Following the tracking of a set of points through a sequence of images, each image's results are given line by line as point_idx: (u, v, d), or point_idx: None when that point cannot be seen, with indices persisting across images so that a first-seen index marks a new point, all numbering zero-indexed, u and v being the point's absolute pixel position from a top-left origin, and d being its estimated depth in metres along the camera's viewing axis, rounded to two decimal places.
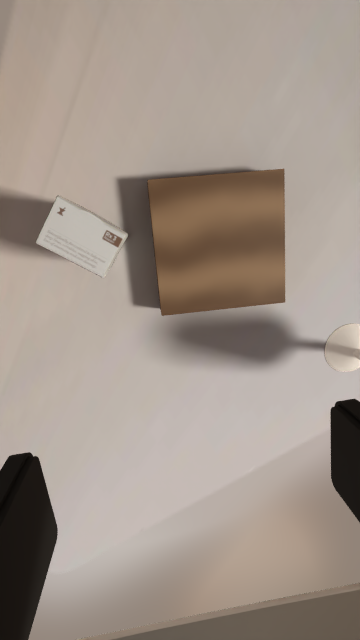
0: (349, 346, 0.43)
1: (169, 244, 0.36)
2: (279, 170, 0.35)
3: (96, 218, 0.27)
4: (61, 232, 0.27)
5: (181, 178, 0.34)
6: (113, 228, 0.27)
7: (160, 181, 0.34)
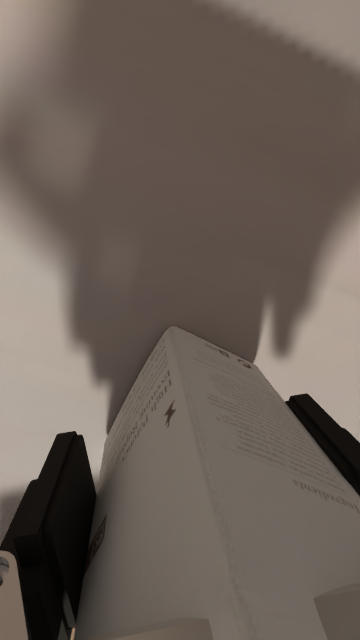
0: None
1: None
2: None
3: None
4: None
5: None
6: None
7: None
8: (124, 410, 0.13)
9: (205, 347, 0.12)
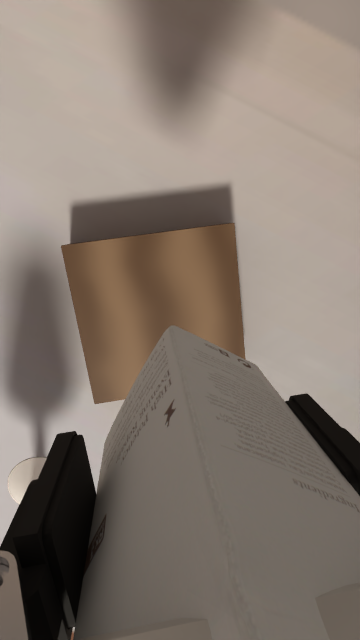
0: None
1: (158, 252, 0.28)
2: None
3: None
4: None
5: (236, 264, 0.29)
6: None
7: (232, 239, 0.28)
8: (124, 410, 0.13)
9: (205, 347, 0.12)
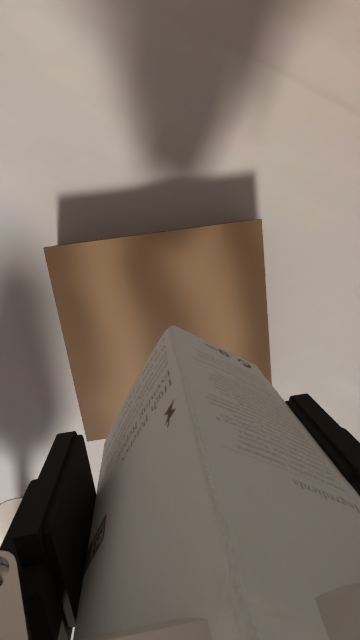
0: None
1: (165, 256, 0.22)
2: None
3: None
4: None
5: (262, 271, 0.23)
6: None
7: (259, 239, 0.23)
8: (124, 410, 0.13)
9: (205, 347, 0.12)
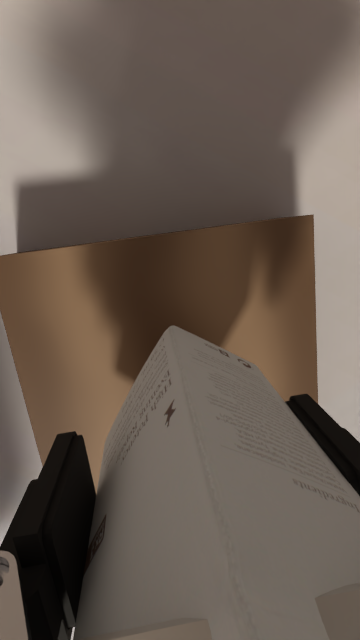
0: None
1: (171, 269, 0.15)
2: None
3: None
4: None
5: (312, 290, 0.16)
6: None
7: (308, 244, 0.15)
8: (124, 410, 0.13)
9: (205, 347, 0.12)
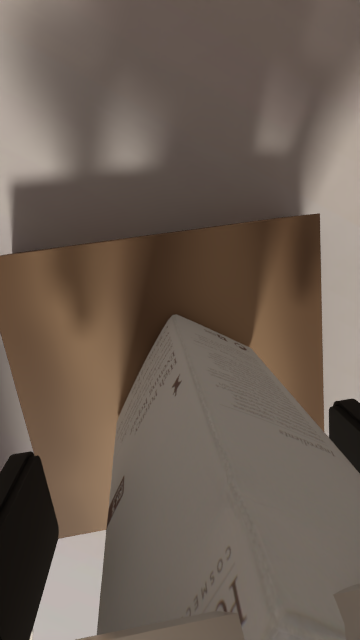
0: None
1: (172, 270, 0.14)
2: None
3: None
4: None
5: (318, 292, 0.15)
6: None
7: (314, 244, 0.15)
8: (134, 391, 0.14)
9: (205, 332, 0.14)
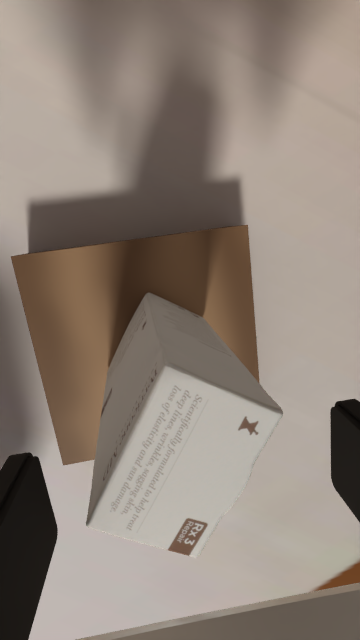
0: None
1: (145, 264, 0.21)
2: None
3: (233, 500, 0.11)
4: (197, 428, 0.10)
5: (249, 280, 0.22)
6: (211, 533, 0.11)
7: (245, 246, 0.21)
8: (119, 346, 0.21)
9: (168, 303, 0.20)
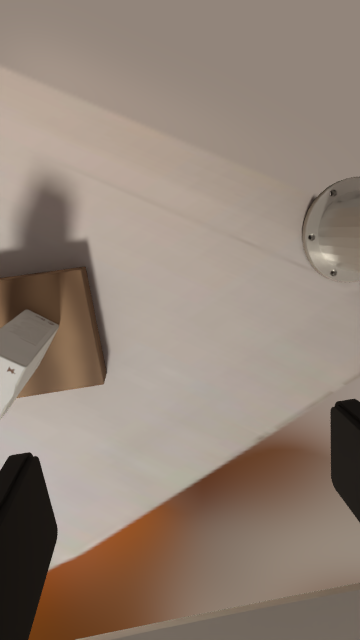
0: None
1: (24, 291, 0.38)
2: (101, 380, 0.42)
3: (8, 399, 0.28)
4: None
5: (85, 299, 0.39)
6: (1, 412, 0.29)
7: (80, 281, 0.38)
8: None
9: (34, 316, 0.38)
